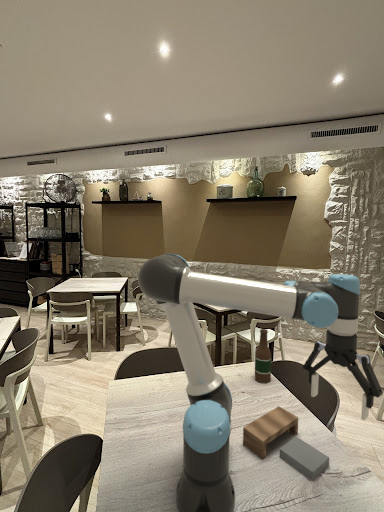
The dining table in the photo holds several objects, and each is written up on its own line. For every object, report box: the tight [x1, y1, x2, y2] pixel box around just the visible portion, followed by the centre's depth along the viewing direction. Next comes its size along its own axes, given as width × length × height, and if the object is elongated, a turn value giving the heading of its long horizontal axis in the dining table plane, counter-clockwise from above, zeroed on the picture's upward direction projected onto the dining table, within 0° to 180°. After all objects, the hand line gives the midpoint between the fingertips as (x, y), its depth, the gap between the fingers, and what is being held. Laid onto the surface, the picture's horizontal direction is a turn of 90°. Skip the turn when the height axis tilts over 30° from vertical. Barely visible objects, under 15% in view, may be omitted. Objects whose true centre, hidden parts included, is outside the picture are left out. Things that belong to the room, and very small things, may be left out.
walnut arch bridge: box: [242, 406, 299, 460], centre depth 97 cm, size 19×8×6 cm, turn 128°
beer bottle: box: [254, 328, 272, 384], centre depth 136 cm, size 8×8×24 cm
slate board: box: [279, 436, 330, 482], centre depth 88 cm, size 9×11×3 cm
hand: (338, 405), depth 81 cm, fingers open, 13 cm apart
